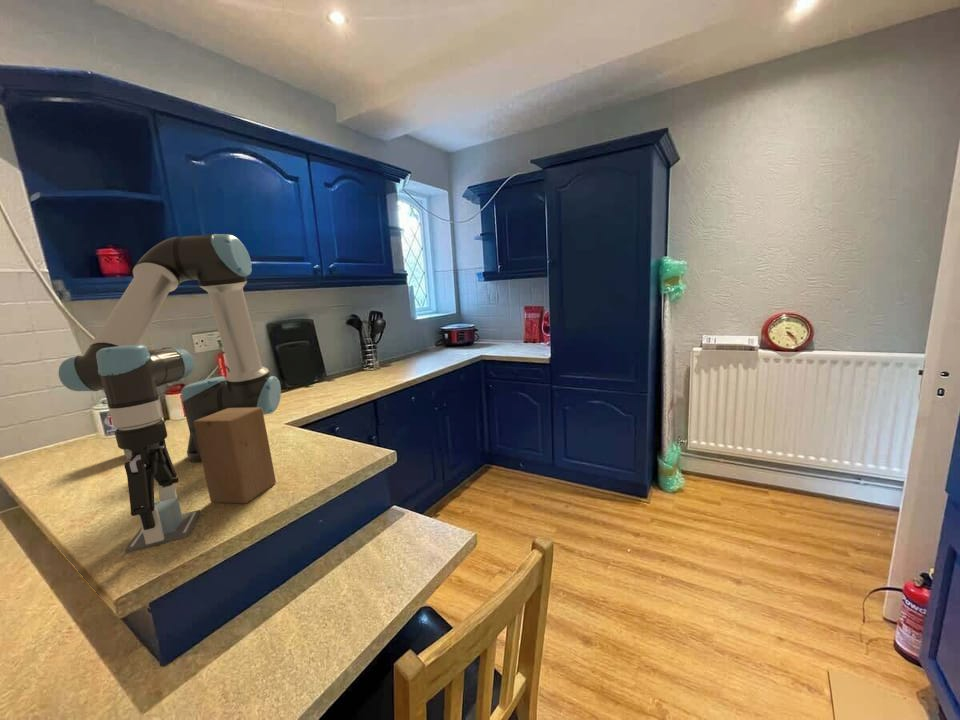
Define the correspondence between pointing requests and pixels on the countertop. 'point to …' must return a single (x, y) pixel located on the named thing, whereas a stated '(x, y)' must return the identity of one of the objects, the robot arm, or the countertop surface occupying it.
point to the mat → (181, 532)
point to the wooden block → (235, 454)
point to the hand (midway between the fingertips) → (164, 527)
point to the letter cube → (169, 515)
